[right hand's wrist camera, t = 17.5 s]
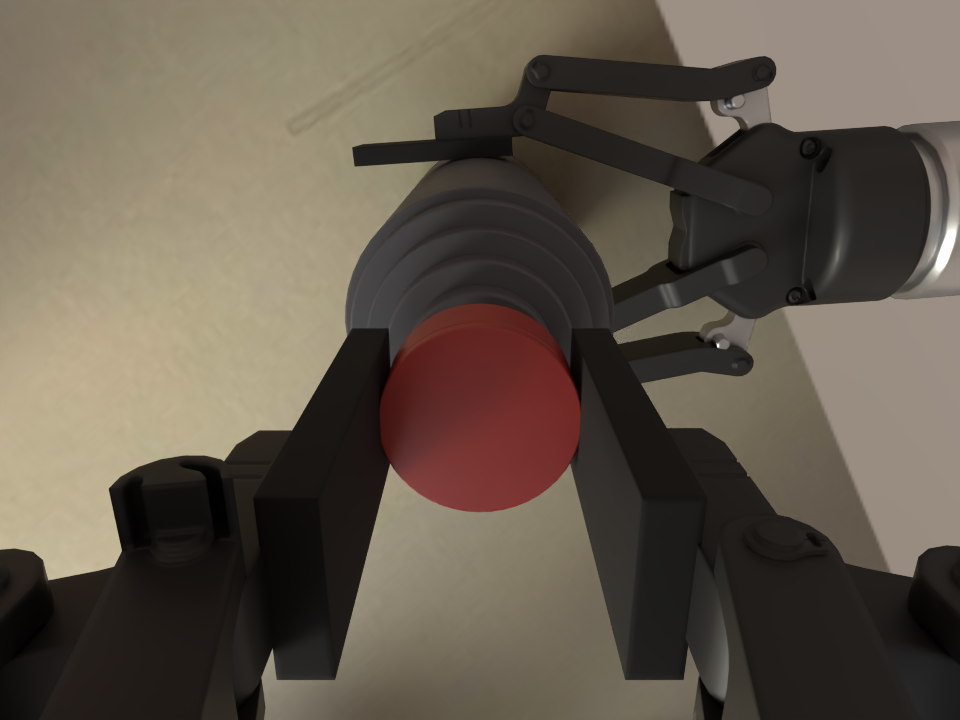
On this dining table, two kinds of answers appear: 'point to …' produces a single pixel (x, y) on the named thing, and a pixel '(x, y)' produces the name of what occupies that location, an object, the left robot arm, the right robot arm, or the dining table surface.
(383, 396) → the cap
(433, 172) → the bottle
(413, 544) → the dining table surface
